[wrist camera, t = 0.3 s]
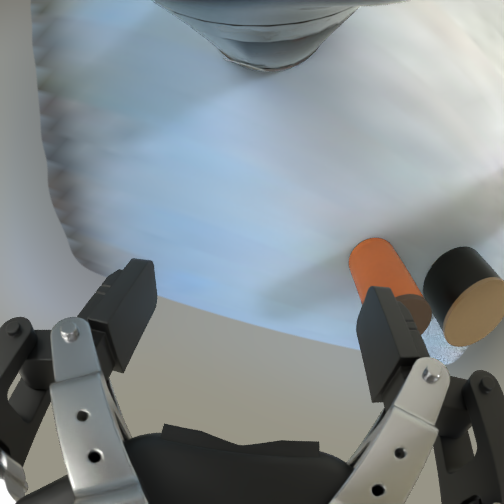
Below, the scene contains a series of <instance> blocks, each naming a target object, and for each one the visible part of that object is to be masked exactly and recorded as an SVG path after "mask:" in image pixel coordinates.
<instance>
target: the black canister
mask: <svg viewBox="0 0 504 504" xmlns="http://www.w3.org/2000/svg"><path fill="white" fill-rule="evenodd" d="M423 293H424V298H425V299H426V300H427V302H428V303H429V305H430V307H431V311H432V312H433V314H434V316H435V318H436V320H437V322H438V323H439V325H440V327H441V329H442V331H443V334H444V337H445V339H446V340H447V342H448V343H449V344H451V345H453V346H457V347H462V346H467V345H471V344H473V343H475V342H477V341H479V340H481V339H482V338H484V337H485V336H486V335H488V334H489V333H490V332H491V331H492V330H493V329H494V328H495V327H496V326H497V325H498V324H499V322H500V321H501V320H502V318H503V317H504V280H502V279H501V278H500V277H499V276H498V274H497V273H496V272H495V271H494V270H493V269H492V268H491V267H490V265H489V264H488V263H487V262H486V261H485V260H484V259H483V258H482V257H481V256H480V255H479V254H478V252H476V251H475V250H474V249H472V248H469V247H458V248H455V249H452V250H450V251H448V252H447V253H445V254H444V255H442V256H441V257H440V258H439V259H438V260H437V261H436V262H435V263H434V264H433V266H432V267H431V269H430V270H429V272H428V274H427V276H426V278H425V281H424V286H423Z"/></svg>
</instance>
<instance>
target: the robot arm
mask: <svg viewBox="0 0 504 504" xmlns="http://www.w3.org/2000/svg"><path fill="white" fill-rule="evenodd" d="M151 1H153V2H154V3H156V4H157V5H159V6H160V7H162V8H163V9H165V10H166V11H168V12H169V13H171V14H172V15H174V16H175V17H177V18H178V19H179V20H181V21H183V22H184V23H186V24H187V25H188V26H190V27H191V28H192V29H194V30H195V31H196V32H198V33H199V34H200V35H202V36H203V37H204V38H206V39H207V40H208V41H210V42H211V43H212V44H213V45H215V46H216V47H217V48H219V50H220V51H221V52H222V53H223V54H224V55H225V56H227V57H228V58H229V59H230V60H228V59H224V58H223V59H224V60H227V61H231V62H235V63H237V64H238V65H241V66H243V67H245V68H248V69H252V70H256V71H265V72H273V71H281V70H285V69H289V68H292V67H294V66H297V65H299V64H300V63H302V62H304V61H305V60H306V59H308V58H309V57H310V56H311V55H312V54H313V53H314V52H315V51H316V50H317V48H318V47H319V46H320V45H321V44H322V43H323V42H324V41H325V40H326V39H327V38H328V37H329V36H330V35H331V34H332V33H333V32H334V31H335V30H336V29H337V28H338V27H339V26H340V25H341V24H342V23H343V22H344V21H345V20H347V19H348V18H349V17H350V16H351V15H352V14H353V13H354V12H355V11H356V10H357V9H358V8H359V7H360V6H378V5H388V4H395V3H402V2H406V1H410V0H151ZM156 303H157V289H156V281H155V272H154V264H153V262H152V261H150V260H143V259H135V258H133V259H131V260H130V262H129V263H128V264H127V265H126V267H125V268H124V269H123V270H120V269H119V270H117V271H116V272H114V273H112V274H111V275H109V276H108V277H107V278H106V280H105V281H104V282H103V283H102V286H100V287H99V289H98V290H97V292H96V293H95V294H94V295H93V296H92V298H91V299H90V300H89V301H88V303H87V304H86V306H85V307H84V308H83V310H82V311H81V312H80V313H79V315H78V316H77V317H70V318H66V319H63V320H61V321H59V322H58V323H57V324H56V325H55V326H54V327H53V328H52V330H34V329H33V327H32V325H31V323H30V321H29V320H28V319H26V318H24V317H16V318H12V319H10V320H9V321H7V322H5V323H4V324H3V325H2V327H1V328H0V504H404V503H405V502H406V500H407V498H408V496H409V495H410V493H411V491H412V489H413V487H414V485H415V483H416V481H417V479H418V478H419V475H420V473H421V471H422V469H423V467H424V465H425V463H426V461H427V458H428V456H429V454H430V452H431V450H432V447H434V453H435V458H436V464H437V470H438V477H439V485H440V493H441V502H442V504H504V395H503V392H502V390H501V387H500V385H499V383H498V381H497V380H496V378H495V377H494V376H493V375H492V374H490V373H489V372H487V371H483V370H477V371H475V372H474V373H473V374H472V375H471V376H470V378H469V379H468V380H466V379H461V378H457V377H452V376H450V374H449V371H448V369H447V368H446V366H445V365H444V364H443V363H442V362H440V361H439V360H437V359H434V358H431V357H430V355H429V353H428V351H427V348H426V346H425V344H424V341H423V339H422V337H421V335H420V332H419V330H417V329H418V328H417V326H416V324H415V322H414V319H413V317H412V315H411V313H410V311H409V310H408V309H407V308H406V306H405V305H404V304H403V303H402V302H401V301H396V298H395V296H394V294H393V292H392V290H391V288H389V287H379V286H370V287H369V289H368V291H367V294H366V297H365V299H364V302H363V305H362V308H361V311H360V313H359V316H358V319H357V325H356V332H357V337H358V341H359V345H360V349H361V353H362V358H363V362H364V367H365V371H366V375H367V380H368V384H369V390H370V395H371V400H372V402H373V403H374V402H383V403H384V407H385V408H384V409H383V410H382V412H381V413H380V415H379V417H378V418H377V420H376V421H375V423H374V425H373V426H372V428H371V429H370V431H369V432H368V434H367V435H366V437H365V438H364V440H363V441H362V443H361V444H360V446H359V447H358V449H357V450H356V451H355V452H354V454H353V455H352V456H351V457H350V459H349V460H348V461H347V462H344V461H342V460H341V459H339V458H337V457H335V456H333V455H330V454H327V453H324V452H320V451H319V442H311V441H283V440H281V441H274V442H267V443H260V444H253V445H237V444H234V443H231V442H228V441H225V440H223V439H220V438H217V437H215V436H212V435H210V434H207V433H205V432H202V431H198V430H193V429H187V428H182V427H177V426H173V425H168V424H164V426H163V430H162V433H151V434H145V435H140V436H137V437H134V438H132V436H131V434H130V432H129V430H128V428H127V425H126V423H125V421H124V418H123V416H122V413H121V410H120V407H119V405H118V402H117V399H116V396H115V393H114V390H113V387H112V384H111V381H110V379H109V377H110V375H111V372H112V371H117V372H120V373H124V371H125V369H126V367H127V365H128V363H129V361H130V359H131V356H132V354H133V352H134V350H135V348H136V346H137V344H138V342H139V340H140V338H141V336H142V334H143V332H144V330H145V328H146V326H147V324H148V322H149V320H150V318H151V316H152V314H153V312H154V310H155V308H156ZM18 372H19V374H20V375H21V379H20V381H19V383H18V384H17V386H16V388H15V390H14V392H13V393H12V396H11V397H10V399H9V401H8V398H7V393H8V389H9V387H10V385H11V384H12V382H13V380H14V379H15V377H16V375H17V374H18ZM50 402H51V403H52V409H53V415H54V419H55V425H56V430H57V435H58V439H59V443H60V448H61V451H62V456H63V459H64V463H65V467H66V470H67V473H68V474H67V475H65V476H63V477H62V478H60V479H58V480H56V481H54V482H52V483H50V484H48V485H46V486H44V487H42V488H40V489H38V490H36V491H34V492H32V493H30V494H28V495H26V496H25V492H27V490H28V484H27V482H26V478H25V473H24V470H23V465H24V462H25V460H26V457H27V455H28V452H29V450H30V447H31V445H32V443H33V440H34V438H35V435H36V433H37V431H38V428H39V426H40V424H41V422H42V419H43V417H44V415H45V413H46V410H47V409H48V406H49V404H50ZM471 426H472V427H473V431H474V434H475V438H476V442H477V452H476V455H475V456H474V454H473V450H472V446H471V441H470V437H469V434H468V429H469V428H470V427H471Z"/></svg>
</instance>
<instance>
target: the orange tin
mask: <svg viewBox="0 0 504 504" xmlns="http://www.w3.org/2000/svg"><path fill="white" fill-rule="evenodd" d="M349 268H350V271H351V274H352V277H353V279H354V282H355V285H356V288H357V291H358V294H359V296H360V299H361V302H362V305H363V302H364V299H365V297H366V294H367V291H368V289H369V287H370V286H379V287H389V288H391V290H392V292H393V294H394V296H395V298H396V301H401V302H402V303H403V304H404V305H405V306H406V308H407V309H408V310H409V311H410V313H411V315H412V317H413V319H414V322H415V324H416V326H417V328H418V329H417V330H419V332H420V335H422V334H423V332H424V331H425V330H426V329H427V327H428V325H429V323H430V321H431V317H432V311H431V307H430V305H429V303H428V302H427V300H426V299H425V298H424V297H423V295H422V294H421V292H420V290H419V289H418V287H417V285H416V283H415V282H414V280H413V278H412V277H411V275H410V273H409V272H408V270H407V269H406V267H405V265H404V264H403V262H402V261H401V259H400V257H399V256H398V254H397V253H396V251H395V250H394V248H393V247H392V245H391V244H390V243H389V242H388V241H386V240H384V239H381V238H370V239H367V240H364V241H362V242H361V243H359V244H358V245H357V246H356V247H355V248H354V249H353V251H352V253H351V255H350V258H349Z"/></svg>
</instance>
